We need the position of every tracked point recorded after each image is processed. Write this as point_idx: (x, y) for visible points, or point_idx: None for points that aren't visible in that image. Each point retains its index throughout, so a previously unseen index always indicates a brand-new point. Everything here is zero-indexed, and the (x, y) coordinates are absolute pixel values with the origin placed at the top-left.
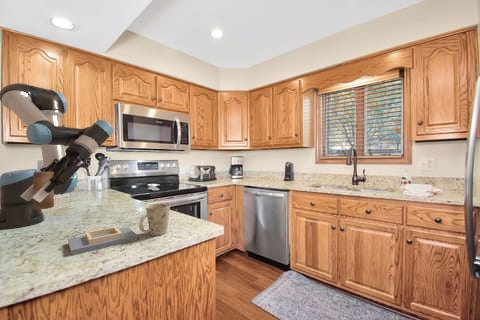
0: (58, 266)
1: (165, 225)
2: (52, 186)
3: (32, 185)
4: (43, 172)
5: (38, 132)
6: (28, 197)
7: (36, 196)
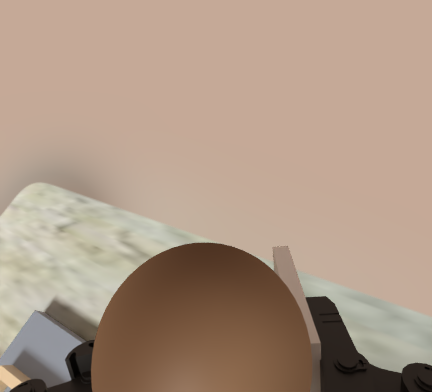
0: (25, 263)
1: None
2: None
3: (295, 299)
4: (118, 298)
5: None
6: None
7: None
